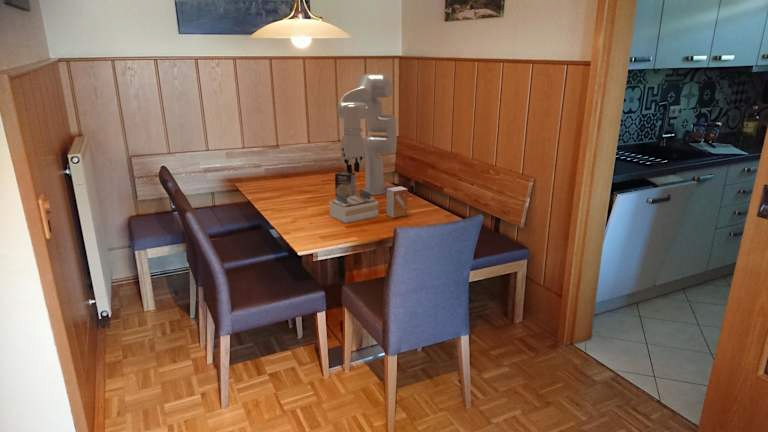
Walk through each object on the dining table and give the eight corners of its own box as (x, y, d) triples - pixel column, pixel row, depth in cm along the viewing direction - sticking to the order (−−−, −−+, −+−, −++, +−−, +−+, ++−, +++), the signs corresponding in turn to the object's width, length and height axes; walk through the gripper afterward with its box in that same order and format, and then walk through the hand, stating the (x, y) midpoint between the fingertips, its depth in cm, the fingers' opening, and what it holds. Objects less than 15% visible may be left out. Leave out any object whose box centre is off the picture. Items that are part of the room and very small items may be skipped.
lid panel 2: (360, 203, 235) (360, 195, 234) (348, 198, 243) (347, 190, 242) (376, 200, 240) (376, 192, 239) (362, 195, 248) (362, 188, 247)
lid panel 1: (346, 198, 243) (346, 191, 242) (359, 203, 235) (359, 196, 233) (331, 201, 238) (331, 194, 237) (343, 206, 230) (343, 199, 229)
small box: (393, 218, 238) (393, 191, 234) (386, 214, 243) (386, 188, 239) (407, 215, 242) (408, 188, 238) (400, 212, 247) (400, 185, 243)
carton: (361, 209, 252) (361, 195, 250) (378, 216, 241) (378, 201, 239) (329, 215, 241) (329, 201, 239) (345, 223, 231) (345, 208, 228)
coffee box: (335, 204, 260) (333, 173, 255) (340, 201, 265) (339, 171, 261) (351, 206, 257) (350, 175, 252) (356, 203, 262) (355, 172, 258)
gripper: (362, 129, 237) (363, 168, 242) (332, 132, 228) (333, 173, 233) (372, 131, 231) (372, 171, 237) (340, 134, 222) (342, 176, 227)
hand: (353, 171), depth 235 cm, fingers open, 3 cm apart
